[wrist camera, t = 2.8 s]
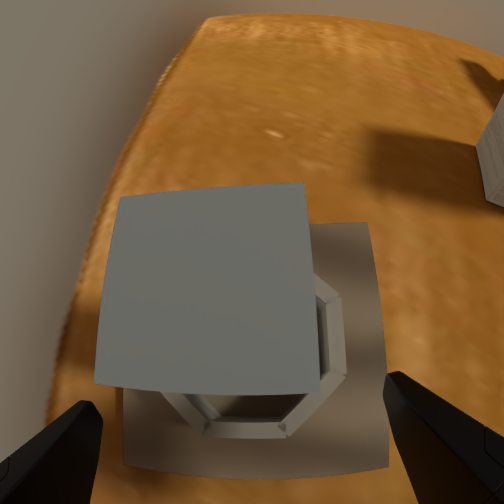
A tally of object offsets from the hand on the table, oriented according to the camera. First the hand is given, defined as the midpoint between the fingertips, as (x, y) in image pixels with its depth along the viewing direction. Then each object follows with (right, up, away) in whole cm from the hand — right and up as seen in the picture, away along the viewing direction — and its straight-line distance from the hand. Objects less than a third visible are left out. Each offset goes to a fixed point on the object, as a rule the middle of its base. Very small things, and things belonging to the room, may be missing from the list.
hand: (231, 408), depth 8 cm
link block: (+1, -1, +10) cm, 10 cm away
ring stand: (+1, -2, +11) cm, 11 cm away
